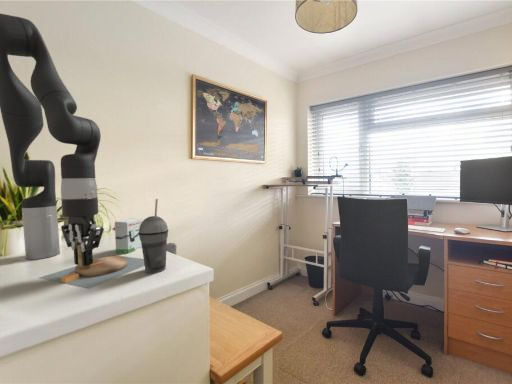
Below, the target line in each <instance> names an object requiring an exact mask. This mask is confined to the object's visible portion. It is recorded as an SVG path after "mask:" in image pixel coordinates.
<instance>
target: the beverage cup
mask: <svg viewBox="0 0 512 384" xmlns="http://www.w3.org/2000/svg"><path fill="white" fill-rule="evenodd" d="M158 201H159V198H155V204H154V215H153V216H148V217H146V218H144V219H143V222H142V223H141V225H140V227H139V233H138V234H139V237H140V241H141V244H142V248H141V249H142V255H143V257H142V259H144V264H145V266H144V269H145V273H147V274H157V273H161V272H164V271H165V270H166V268H167V267H166V266H167V243H168V242H167V241H168V235H169V228H168V224H167V222H166V221H165V219H164V218H162V217H160V216H157V215H158Z"/></svg>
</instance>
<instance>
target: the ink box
mask: <svg viewBox="0 0 512 384" xmlns="http://www.w3.org/2000/svg"><path fill="white" fill-rule="evenodd" d="M143 220H144V219H143V218H128V219H122V220H117V221H116V220H115V222H114V235H115V237H114V238H115V253H116V254H124V255H127V254H131V253H133V252H136V251H138V250H139V249H142V244H141V241H140V237H139V234H138V233H139V227H140V225H141V223H142V222H143Z"/></svg>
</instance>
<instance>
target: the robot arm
mask: <svg viewBox="0 0 512 384" xmlns="http://www.w3.org/2000/svg"><path fill="white" fill-rule="evenodd" d="M49 51H50V50H49V49H48V47H47V45H46V42H45V40H44V38H43V36H42V33H41V32H40V31H39V29H38V28H37V26H36V25H35V24H34V22H33V21H31V20H30V19H28V18H24V17H20V16H14V15H11V14H5V13H0V113H1V119H2V123H3V126H4V130H5V134H6V138H7V142H8V149H9V154H10V156H9V157H10V163H11V165H10V166H11V171H12V177H13V180H14V183H15V185H17V187H19V188H43V190H42V191H40V192H39V193H36V194H34V195H32V196H29V197H26V198H23V199H22V200H21V203H20V204H21V215H22V217H21V218H22V226H23V227H22V228H23V238H24V239H23V241H24V253H25V260H40V259H46V258H51V257H54V256H58V255H60V253H61V248H60V234H59V233H60V232H59V223H58V222H59V217H58V207H57V196H56V168H55V165H54V163H53V161H51V160H48V159H47V160H46V159H45V160H44V159H25V155H26V153H27V151H28V149H29V148H30V146H31V145H32V143H33V142H34V141H35V140H36V138H38V136H39V135H40V134H41V132H42V130H43V128H44V117H43V111H44V115H45V119H46V124H47V129H48V133H49V134H50V135H51V137H53V138H54V139H55V140H56V141H57V142H60V143H62V144H67V145H74V146H76V148H75V151H74V152H73V153H70V154H64V155H63V156H61V159H60V176H61V183H60V197H61V213H62V214H61V215H62V217H64V218H67V224H64V225H61V226H60V228H61V231H62V235H63V237H64V240H65V243H66V246H67V247H68V248H71V250H72V251H73V258H74V259H73V260H74V265H75V266H77V265H78V252H77V246H78V245H81V249H82V251H83V252H82V265H83V266H88V265H91V264H92V263H93V259H94V257H93V256H94V255H93V250H95V249H97V248H99V246H100V244H101V243H100V242H101V241H102V240H101V239H102V237H103V232H104V227H103V226H98V225H97V224H96V220H95V215H98V213H99V198H98V195H99V194H98V184H97V180H96V165H95V163H96V158H97V156H98V151H99V147H100V145H101V144H100V142H101V137H102V136H101V130H100V127H99V126H98V124H97V123H96V122H95V121H94V120H93V119H90V118H87V117H81V116H77V115H75V114H76V112H77V110H78V105H77V102H76V101H75V99H74V97H73V96H72V94H71V92H69V90H68V88H67V86H66V85H65V83H64V82H63V80H62V78H61V76H60V75H59V73H58V71H57V68H56V65H55V63H54V60H53V58H52V56H51V53H50V52H49ZM8 56H15V57H26V58H32V59H34V60H35V66H34V68H33V71H32V74H31V77H30V87H31V90H32V91H30V89H29V88H28V87H27V86H26V85H25V84H24V83H23V81H21V80H20V79H19V77H18V76H17V74H16V73H15V72H14V70H13V68H12V67H11V64H10V62H9V57H8ZM86 244H87V245H86Z"/></svg>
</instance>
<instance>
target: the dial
mask: <svg viewBox="0 0 512 384" xmlns="http://www.w3.org/2000/svg"><path fill="white" fill-rule="evenodd" d="M86 245H87V243H86ZM77 252H78V265H75V266H76V267H75V266H74V267H75V273H76V274H79V276H80V277H94V276H101V275H106V274H110V273H114V272H117V271H119V270H122V269H124V268H125V267H126V266H127V258H125V257H126V256H125V257H121V256H122V255H117V256H112V257H107V256H104V257H98V258H93V263H92V264H91V265H88V266H83V265H82V252H83V251H82V249H81V245H78V246H77Z"/></svg>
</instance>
